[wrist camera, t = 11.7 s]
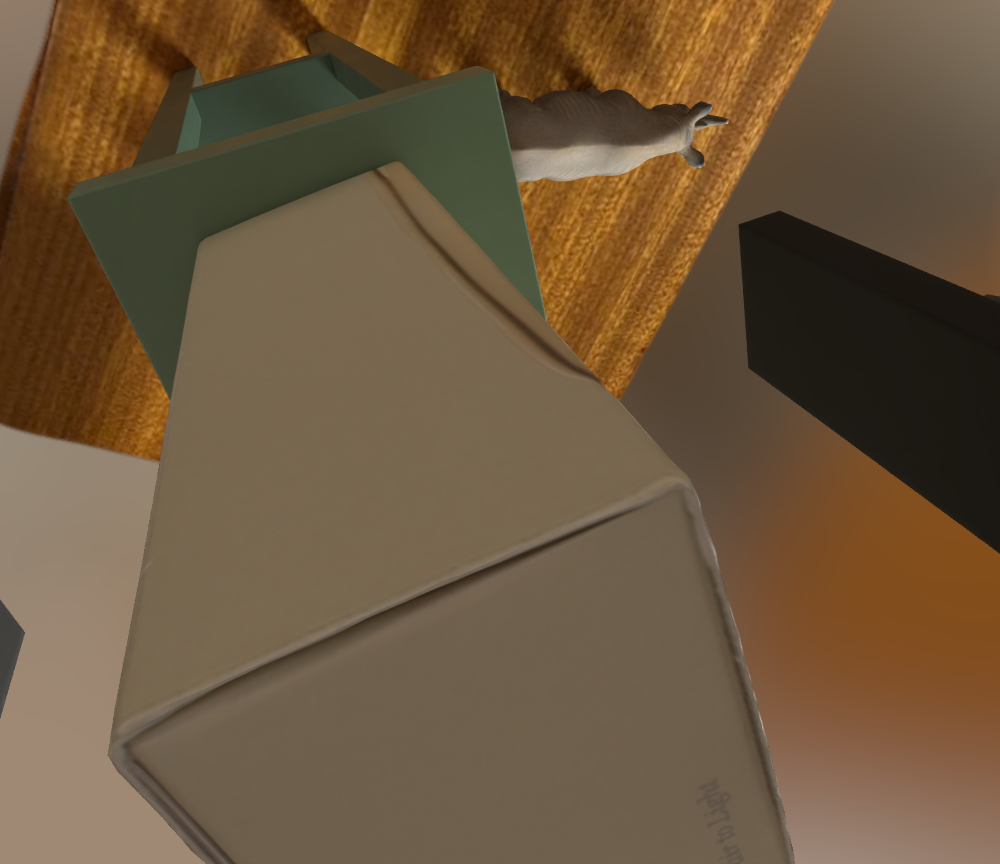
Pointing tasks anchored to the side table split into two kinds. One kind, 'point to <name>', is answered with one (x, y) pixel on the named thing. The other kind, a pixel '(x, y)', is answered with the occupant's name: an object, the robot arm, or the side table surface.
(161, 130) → the stand
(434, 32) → the side table surface
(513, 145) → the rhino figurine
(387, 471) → the cosmetic box
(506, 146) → the green square board
